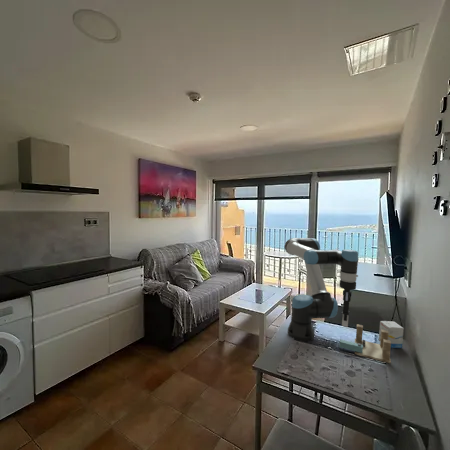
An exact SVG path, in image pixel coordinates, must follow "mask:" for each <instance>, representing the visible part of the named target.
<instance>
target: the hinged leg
mask: <svg viewBox="0 0 450 450" xmlns="http://www.w3.org/2000/svg"><path fill="white" fill-rule="evenodd" d="M338 347H339V348H342V349H345V350H348V351H352V352H353V351H354V352H355V351H356V352H360V353H362V352H363V345H361V344H359V343H358V344H357V343H355V342H353V341H348V340H345V339H339V345H338Z"/></svg>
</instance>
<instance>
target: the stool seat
mask: <svg viewBox="0 0 450 450" xmlns="http://www.w3.org/2000/svg"><path fill="white" fill-rule="evenodd" d="M363 329H364V325H362V324H356V334H355V338H354V343H357V344H358V343H359V344H361V345H363V352H362V353H360V352H356V351H354V355H357V356H361V357H365V358H368V359H373V360H376V361H380V362H383V363H388V364H391V363H392V361H391V349H392V348H391V341H389V340H388V331H387V330H382V329H381V338H380V341H379V343H376V342H371V341H367V340H366V339H363Z"/></svg>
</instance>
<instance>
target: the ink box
mask: <svg viewBox="0 0 450 450" xmlns="http://www.w3.org/2000/svg"><path fill="white" fill-rule="evenodd" d="M381 329H382V330H387V331H388V340H389V341H391V349H403V342H404V340H403V338H404V330H405V328H404V327H403V326H401V325H400V324H398V323H397V322H396V321H391V320H389V321H388V320H380V321H379V332H378V333H379V334H378V341H379V342H380V338H381Z"/></svg>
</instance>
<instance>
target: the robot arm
mask: <svg viewBox="0 0 450 450" xmlns="http://www.w3.org/2000/svg"><path fill="white" fill-rule="evenodd" d="M284 250H285V252H286V253H287V254H289V255H291V256H296V257H298V258H300V259H302V260H303V261H304V265H305V269H306V272H307V277H308V281H309V285H310V288H311V289H310V290H311V292H312V294H311V295H310V294H298V295H294V296H293V297H292V300H291V302H292V303H291V314H290V315H291V318H290V323H289V325H288V328H287V335H288V336H289V338H291V339H294V340H296V341H300V342H309V341H312V340H314V337H315V333H314V329H313V324H312V323H313V321H312V320H313V319H332V318H335V317H336V316H337V314H338V312H339V305H338V304H339V303H338V300H337V299H336V298H335V297H332V294H331V292H329V291H327V287H326V283H325V279H324V276H323V274H322V270H321V266H320V265H337V266H340V271H339V272H340V273H339V288H341V289H343V290H342V300H343V307H342V308H343V309H342V311H341V313H340V314H342V318H341V319H342V320H341V326H342V327H345V328H347V327H349V315H350V313H351V310H350V302H351V299H352V292H353V291H354V290H356V288H357V282H356V281H357V278H358V277H359V275H358V266H359V265H358V263H359V252H358V250H355V249H349V248H347V249H346V248H345V249H342V250H339V249H334V248H333V249H331V250H330V249H329V250H321V244H320V242H319V241H318V239H317V238H314V237H313V238H312V237H291V238H289V239H287V240H286V241H285V244H284Z"/></svg>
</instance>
